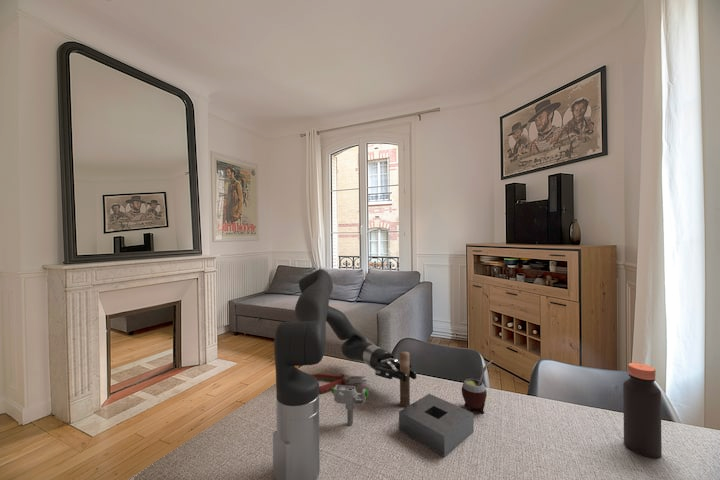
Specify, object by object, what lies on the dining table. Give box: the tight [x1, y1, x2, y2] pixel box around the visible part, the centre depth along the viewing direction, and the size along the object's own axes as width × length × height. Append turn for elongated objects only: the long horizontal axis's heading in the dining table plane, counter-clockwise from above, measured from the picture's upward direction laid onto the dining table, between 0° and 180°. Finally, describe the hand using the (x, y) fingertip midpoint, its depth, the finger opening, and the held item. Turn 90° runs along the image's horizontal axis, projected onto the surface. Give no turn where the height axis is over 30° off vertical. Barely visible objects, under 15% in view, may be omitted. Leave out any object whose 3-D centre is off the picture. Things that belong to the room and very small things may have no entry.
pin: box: [399, 351, 411, 408], centre depth 94 cm, size 3×3×16 cm
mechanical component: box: [331, 385, 369, 427], centre depth 84 cm, size 3×10×10 cm, turn 79°
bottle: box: [622, 362, 663, 459], centre depth 74 cm, size 7×7×20 cm
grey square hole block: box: [398, 393, 475, 458], centre depth 81 cm, size 14×14×5 cm
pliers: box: [311, 373, 367, 395], centre depth 108 cm, size 12×21×3 cm, turn 102°
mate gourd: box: [461, 359, 494, 415], centre depth 92 cm, size 8×8×15 cm
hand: (410, 377), depth 92 cm, fingers closed on pin, 3 cm apart
